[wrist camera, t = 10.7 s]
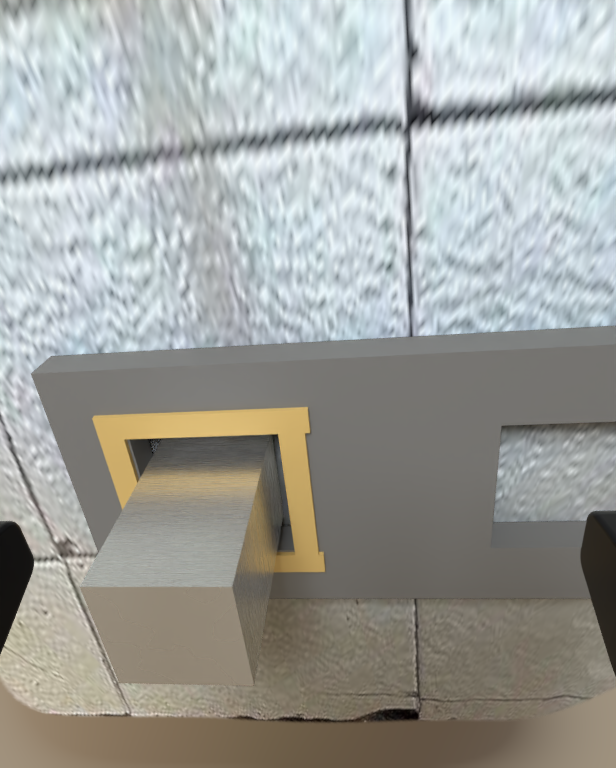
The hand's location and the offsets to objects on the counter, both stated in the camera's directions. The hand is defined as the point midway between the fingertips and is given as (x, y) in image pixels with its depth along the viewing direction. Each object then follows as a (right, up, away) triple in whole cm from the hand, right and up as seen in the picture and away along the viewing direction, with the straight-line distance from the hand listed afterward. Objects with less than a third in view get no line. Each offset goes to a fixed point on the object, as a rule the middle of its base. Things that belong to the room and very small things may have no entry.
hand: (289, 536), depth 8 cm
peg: (-3, -2, +15) cm, 15 cm away
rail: (+4, -1, +14) cm, 15 cm away
